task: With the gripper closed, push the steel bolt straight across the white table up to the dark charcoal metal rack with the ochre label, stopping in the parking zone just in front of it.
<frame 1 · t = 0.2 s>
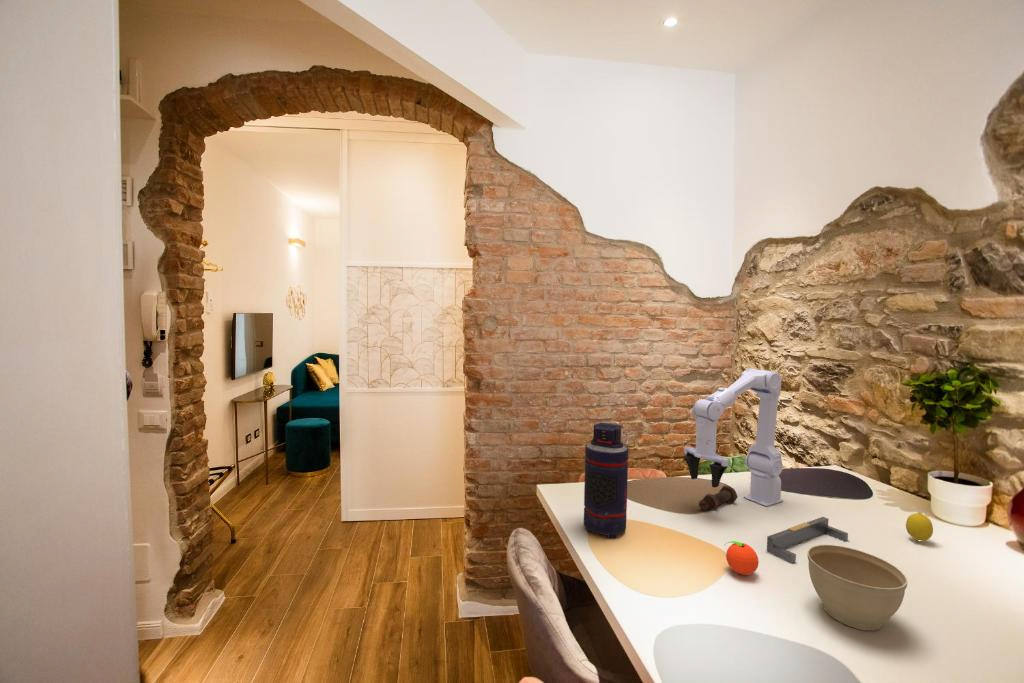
hand: (704, 482, 139), 10 cm above the table, tool pointing down, fingers open, 7 cm apart
rack: (798, 541, 123), on the table
planter bowl: (851, 616, 92), on the table
lemon: (918, 542, 124), on the table
orange-red round fruit: (739, 572, 108), on the table
bolt: (715, 507, 146), on the table
grenade: (605, 528, 130), on the table
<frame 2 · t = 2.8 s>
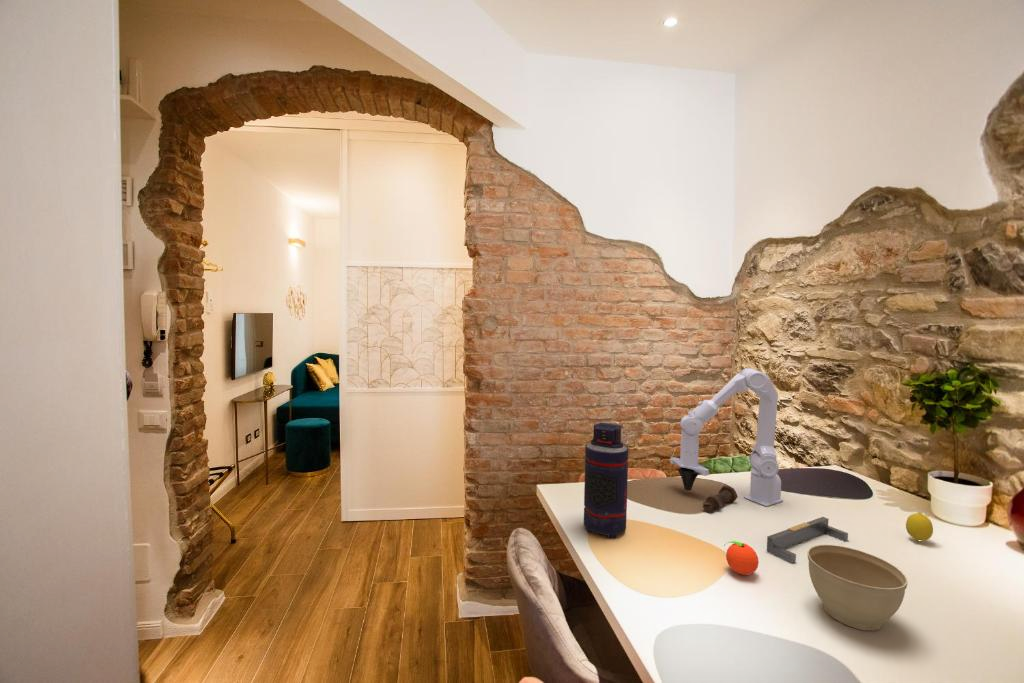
hand: (688, 489, 155), 1 cm above the table, tool pointing down, fingers closed
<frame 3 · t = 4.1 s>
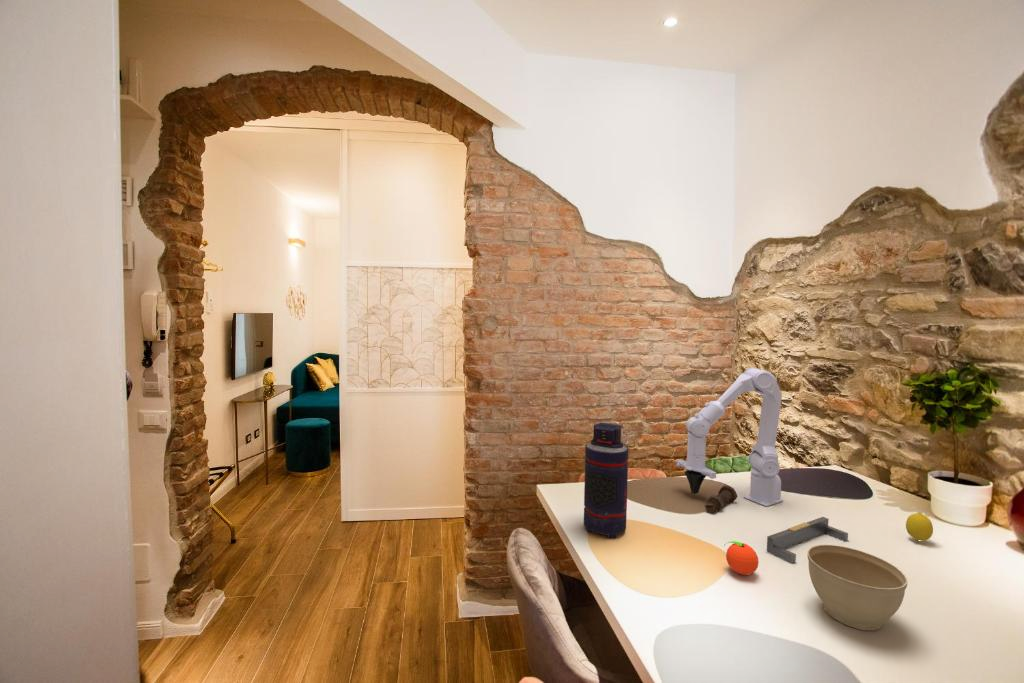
hand: (694, 492, 153), 1 cm above the table, tool pointing down, fingers closed
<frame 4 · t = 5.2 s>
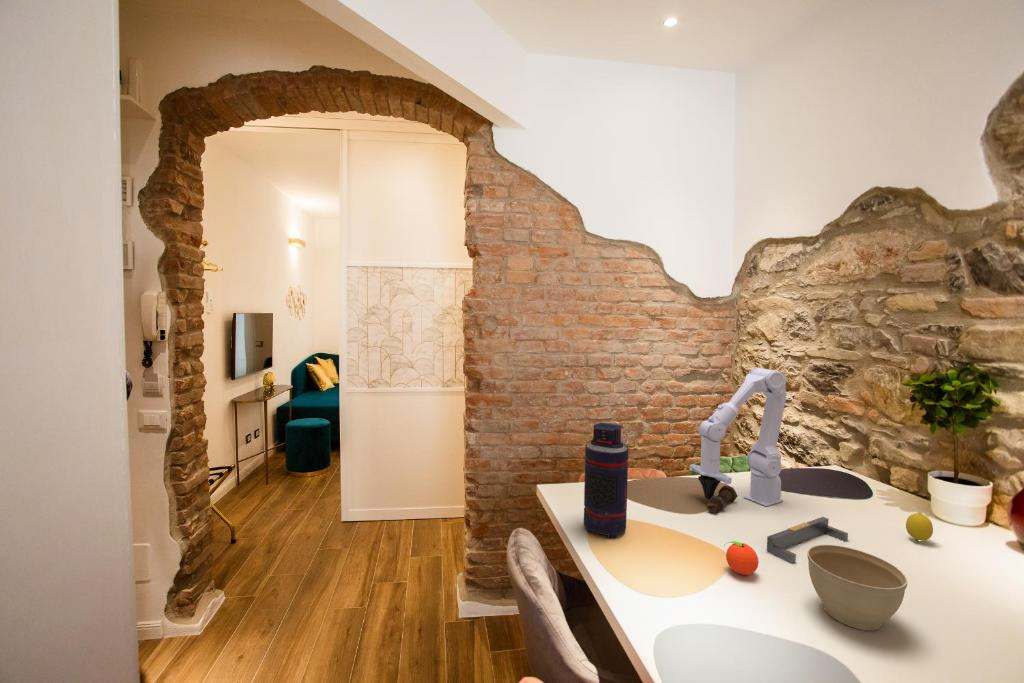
hand: (708, 498, 148), 1 cm above the table, tool pointing down, fingers closed
bolt: (719, 508, 145), on the table, touching gripper
everything else where it was.
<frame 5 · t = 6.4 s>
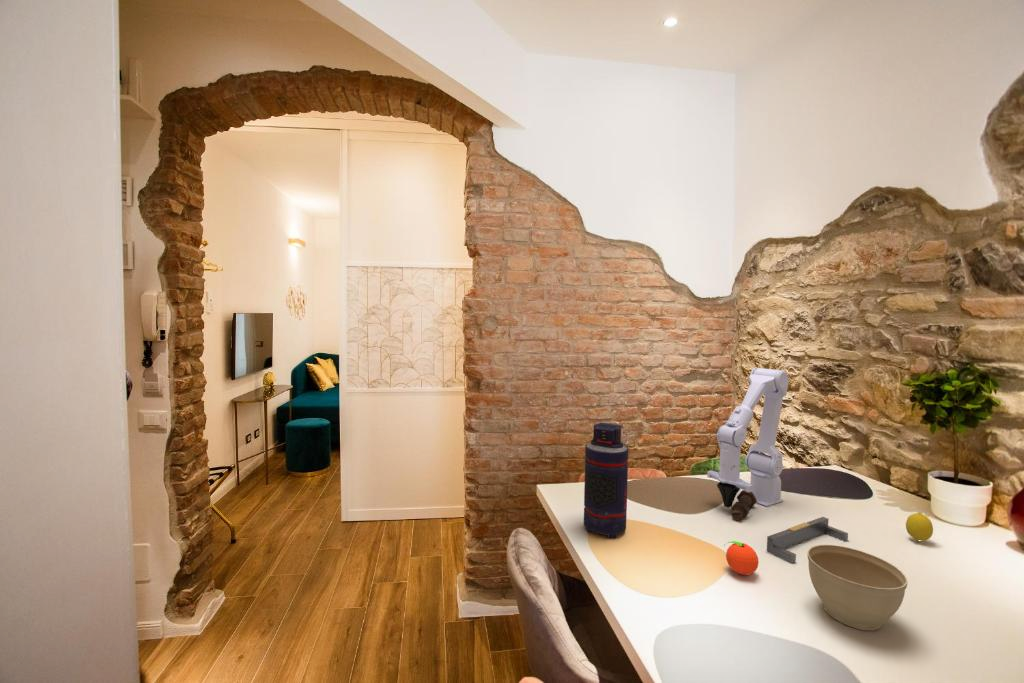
hand: (728, 506, 142), 1 cm above the table, tool pointing down, fingers closed
bolt: (741, 514, 141), on the table, touching gripper
everything else where it was.
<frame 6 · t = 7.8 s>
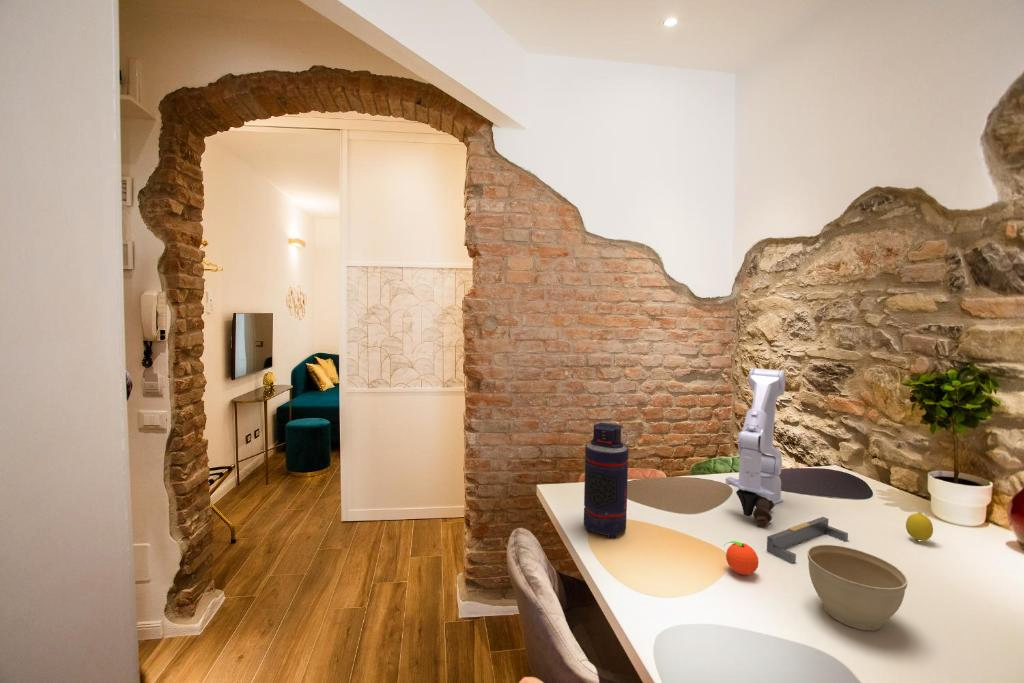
hand: (747, 515, 136), 1 cm above the table, tool pointing down, fingers closed
bolt: (761, 519, 137), on the table, touching gripper
everything else where it was.
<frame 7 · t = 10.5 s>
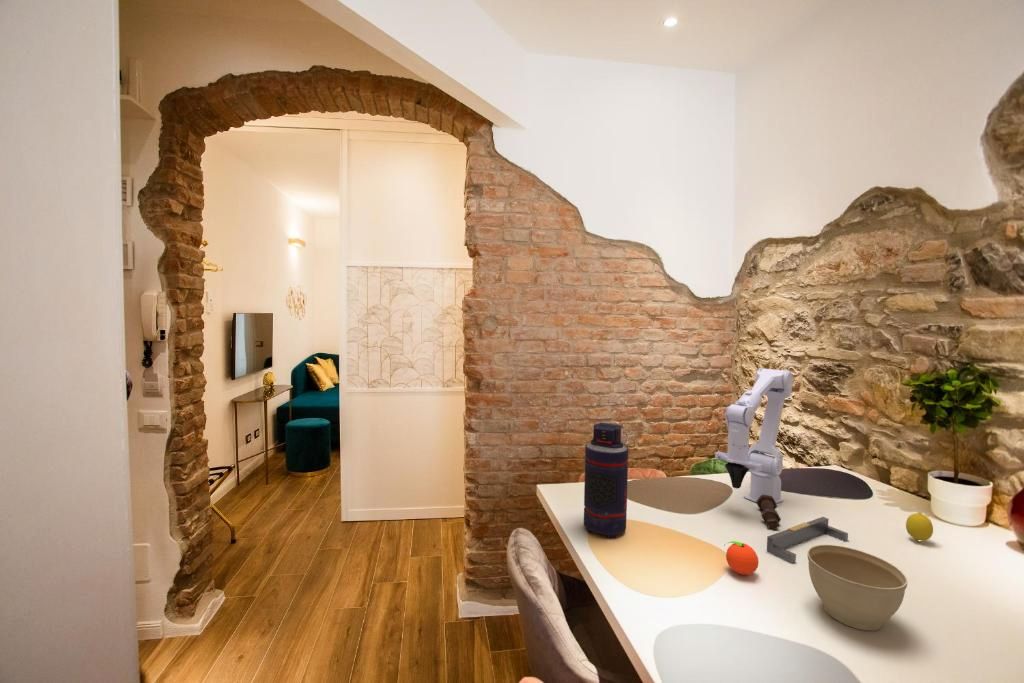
hand: (736, 487, 139), 8 cm above the table, tool pointing down, fingers closed
bolt: (768, 520, 136), on the table
everything else where it was.
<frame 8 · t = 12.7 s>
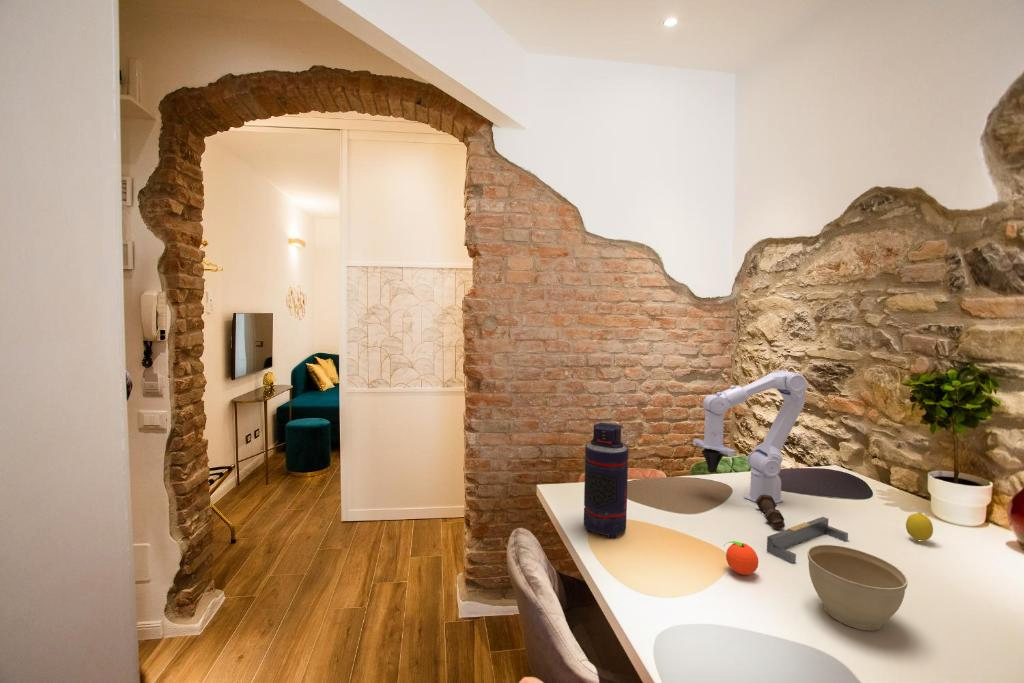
hand: (712, 471, 150), 9 cm above the table, tool pointing down, fingers closed
at the end: bolt inside the target area on the table beside the rack (6.8 cm from its centre), on the table; bolt moved 15.7 cm from its start; the gripper is holding nothing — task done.
